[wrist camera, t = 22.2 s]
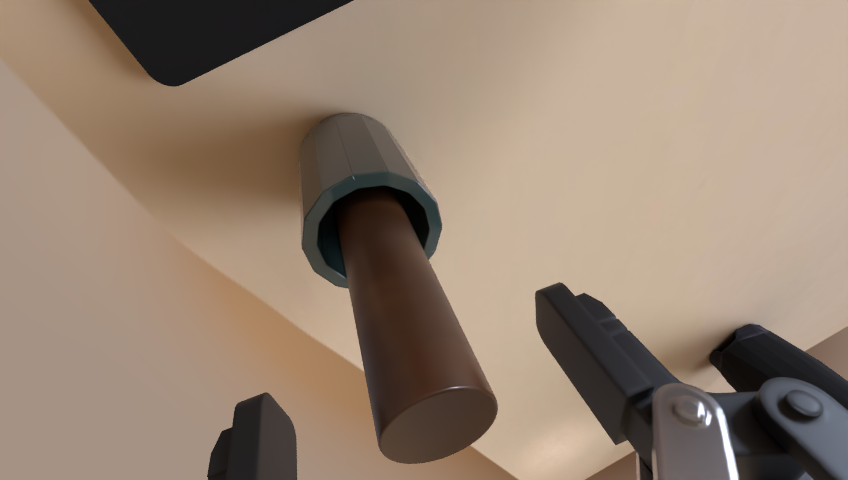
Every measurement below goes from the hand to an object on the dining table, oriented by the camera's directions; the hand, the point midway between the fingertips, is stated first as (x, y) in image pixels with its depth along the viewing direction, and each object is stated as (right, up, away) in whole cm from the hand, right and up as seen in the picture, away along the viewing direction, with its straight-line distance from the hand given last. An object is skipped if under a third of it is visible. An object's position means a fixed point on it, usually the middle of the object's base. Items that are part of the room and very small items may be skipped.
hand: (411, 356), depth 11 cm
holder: (-4, +8, +11) cm, 14 cm away
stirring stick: (-4, +8, +11) cm, 14 cm away
